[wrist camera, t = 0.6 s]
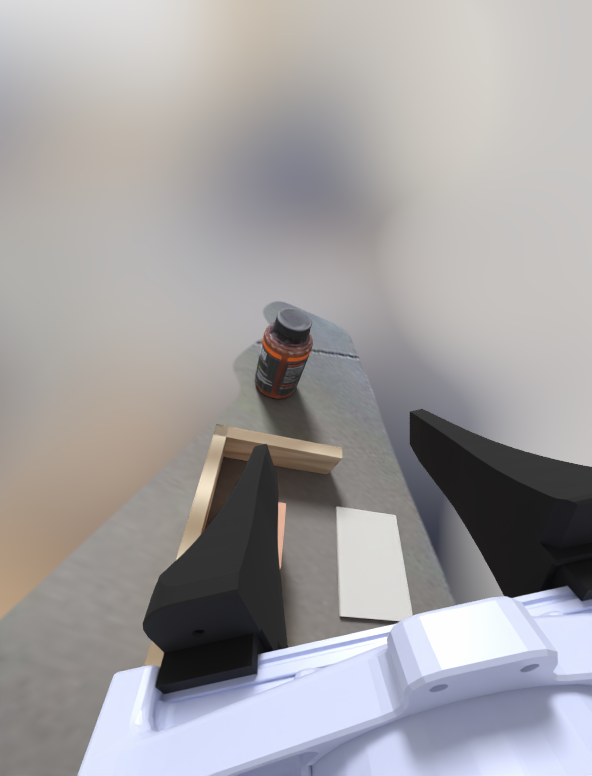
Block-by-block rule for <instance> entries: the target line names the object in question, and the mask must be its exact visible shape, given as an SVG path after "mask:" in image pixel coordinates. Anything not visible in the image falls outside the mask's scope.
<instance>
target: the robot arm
mask: <svg viewBox="0 0 592 776" xmlns="http://www.w3.org/2000/svg"><path fill="white" fill-rule="evenodd" d="M410 445H411V447H412V449H413V451H414V452H415V454H416V456H417V458H418V459H419V461H420V462H421V464H422V465H423V467H424V468H425V469H426V470H427V472H428V473H429V475H430V476H431V477H432V479H433V480H434V481H435V483H436V484H437V485H438V486H439V488H440V489H441V490H442V491H443V493H444V494H445V496H446V497H447V498H448V500H449V501H450V502H451V504H452V505H453V506H454V508H455V510H456V511H457V513H458V515H459V516H460V518H461V519H462V521H463V523H464V524H465V526H466V527H467V529H468V531H469V533H470V534H471V536H472V538H473V539H474V541H475V543H476V545H477V546H478V548H479V550H480V551H481V553H482V555H483V557H484V559H485V561H486V562H487V564H488V566H489V568H490V570H491V571H492V573H493V575H494V577H495V579H496V581H497V583H498V585H499V587H500V589H501V591H502V592H503V594H504V597H493V598H488V599H483V600H479V601H474V602H470V603H465V604H461V605H456V606H452V607H447V608H443V609H438V610H434V611H429V612H425V613H420V614H416V615H414V616H411V617H408V618H405V619H402V620H401V621H400V622H398V623H397V624H393V625H388V626H384V627H379V628H375V629H370V630H366V631H361V632H357V633H352V634H348V635H343V636H339V637H334V638H330V639H325V640H321V641H316V642H312V643H307V644H303V645H298V646H294V647H289V648H288V646H287V637H286V628H285V619H284V609H283V599H282V588H281V577H280V566H279V553H278V484H277V475H276V471H275V468H274V465H273V461H272V458H271V455H270V452H269V449H268V446H267V444H263V445H258V446H255V447H254V448H253V450H252V453H251V455H250V458H249V460H248V462H247V464H246V466H245V468H244V470H243V472H242V474H241V476H240V478H239V480H238V482H237V484H236V486H235V487H234V489H233V491H232V493H231V494H230V496H229V498H228V499H227V501H226V502H225V504H224V505H223V507H222V508H221V510H220V511H219V512H218V514H217V515H216V516H215V518H214V519H213V520H212V522H211V523H210V524H209V526H208V527H207V528H206V529H205V531H204V532H203V533H202V534H201V535H200V536H199V537H198V538H197V540H196V541H195V542H194V543H193V544H192V545H191V546H190V547H189V548H188V549H187V550H186V551H185V552H184V553H183V554H182V555H181V556H180V557H179V558H178V559H177V560H176V561H175V562H174V563H173V564H172V565H171V566H170V567H169V568H168V569H167V570H166V571H164V572H163V573H162V574H161V575H160V577H159V579H158V582H157V584H156V586H155V589H154V591H153V594H152V597H151V600H150V603H149V606H148V609H147V612H146V615H145V618H144V621H143V630H144V631H145V633H146V635H147V636H148V637H149V638H150V639H151V640H152V641H153V642H154V643H155V644H156V645H157V646H158V647H159V648H160V649H161V650H162V651H163V652H164V655H163V659H162V663H161V667H159V666H155V665H149V666H144V667H139V668H135V669H130V670H126V671H121V672H117V673H116V674H115V675H114V676H113V679H112V682H111V684H110V687H109V690H108V693H107V695H106V698H105V701H104V704H103V706H102V709H101V712H100V715H99V718H98V720H97V723H96V726H95V729H94V731H93V734H92V737H91V740H90V742H89V745H88V748H87V751H86V753H85V756H84V759H83V762H82V765H81V767H80V770H79V773H78V776H592V467H589V466H583V465H578V464H573V463H569V462H564V461H559V460H555V459H551V458H547V457H543V456H539V455H536V454H532V453H529V452H524V451H522V450H518V449H515V448H512V447H509V446H506V445H503V444H500V443H497V442H494V441H492V440H489V439H487V438H484V437H482V436H479V435H477V434H474V433H472V432H470V431H467V430H465V429H463V428H461V427H459V426H457V425H454V424H452V423H450V422H448V421H446V420H444V419H442V418H440V417H438V416H436V415H434V414H431V413H430V412H428V411H425V410H423V409H420V410H416V411H411V412H410Z"/></svg>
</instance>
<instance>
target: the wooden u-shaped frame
mask: <svg viewBox="0 0 592 776" xmlns="http://www.w3.org/2000/svg"><path fill="white" fill-rule="evenodd" d="M263 444H267V446H268V449H269V452H270V455H271V458H272V461H273V465H274V466H280V467H286V468H292V469H298V470H303V471H309V472H315V473H321V474H328V473H329V472H330V471H331V470H332V469H333V468H334V467H335V466H336V465H337V464H338V462H339V461H340V460H341V459H342V448H340V447H335V446H329V445H324V444H319V443H314V442H308V441H303V440H298V439H293V438H287V437H282V436H277V435H272V434H266V433H261V432H256V431H251V430H245V429H240V428H235V427H230V426H224V425H219V424H217V425H216V428H215V432H214V435H213V438H212V442H211V445H210V448H209V452H208V455H207V458H206V462H205V465H204V468H203V471H202V475H201V478H200V481H199V485H198V488H197V491H196V495H195V498H194V501H193V505H192V508H191V511H190V515H189V518H188V521H187V525H186V528H185V531H184V535H183V538H182V541H181V545H180V548H179V551H178V555H177V558H176V560H177V559H178V558H179V557H180V556H181V555H182V554H183V553H184V552H185V551H186V550H187V549H188V548H189V547H190V546H191V545H192V544H193V543H194V542H195V541H196V540H197V538H198V537H199V536H200V535H201V534H202V533H203V532H204V531H205V527H206V523H207V519H208V515H209V511H210V507H211V503H212V500H213V496H214V492H215V488H216V484H217V480H218V476H219V472H220V468H221V464H222V461H223V457H228V458H234V459H239V460H245V461H248V460H249V458H250V455H251V453H252V450H253V448H254V447H255V446H258V445H263ZM163 655H164V652H163V651H162V650H161V649H160V648H159V647H158V646H157V645H156V644H155V643H154V642H153V641H151V645H150V648H149V651H148V655H147V658H146V661H145V665H144V666H149V665H155V666H159V667H161V663H162V659H163Z"/></svg>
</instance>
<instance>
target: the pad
mask: <svg viewBox="0 0 592 776" xmlns="http://www.w3.org/2000/svg"><path fill="white" fill-rule="evenodd" d="M336 531H337V562H338V592H339V616H344V617H356V618H368V619H379V620H391V621H401V620H402V619H405V618H408V617H411V616H413V615H412V609H411V603H410V597H409V591H408V585H407V579H406V573H405V568H404V562H403V556H402V550H401V544H400V538H399V532H398V526H397V520H396V515H390V514H383V513H376V512H370V511H363V510H357V509H350V508H344V507H336Z"/></svg>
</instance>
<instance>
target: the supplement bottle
mask: <svg viewBox="0 0 592 776" xmlns="http://www.w3.org/2000/svg"><path fill="white" fill-rule="evenodd" d="M311 326H312V321H311V319H310V317H309V316H308V315H307V314H306V313H304V312H302V311H300V310H298V309H294V308H285V309H282V310H280V311H279V312H278V314H277V318H276V320H275V322H273V323H272V324H270V325H269V326H268V327H267V328H266V330H265V333H264V337H263V341H262V346H261V351H260V356H259V360H258V365H257V370H256V375H255V383H256V386H257V388H258V389H259V390H260V391H261V392H262V393H263V394H264V395H266V396H268V397H271V398H276V399H281V398H286V397H288V396H290V395H291V394H292V393H293V392H294V391H295V389H296V387H297V384H298V382H299V380H300V377H301V375H302V372H303V369H304V367H305V364H306V362H307V359H308V357H309V354H310V352H311V349H312V345H313V340H312V337H311V335H310V328H311Z"/></svg>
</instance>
